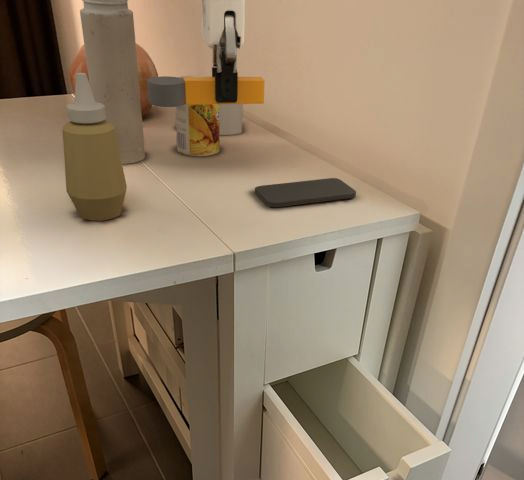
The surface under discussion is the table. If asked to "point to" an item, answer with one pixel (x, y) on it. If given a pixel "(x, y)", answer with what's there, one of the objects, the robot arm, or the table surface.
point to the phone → (304, 192)
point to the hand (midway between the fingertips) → (224, 98)
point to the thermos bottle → (115, 71)
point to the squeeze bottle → (92, 157)
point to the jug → (144, 72)
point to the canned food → (197, 128)
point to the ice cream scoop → (200, 91)
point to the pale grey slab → (230, 119)
